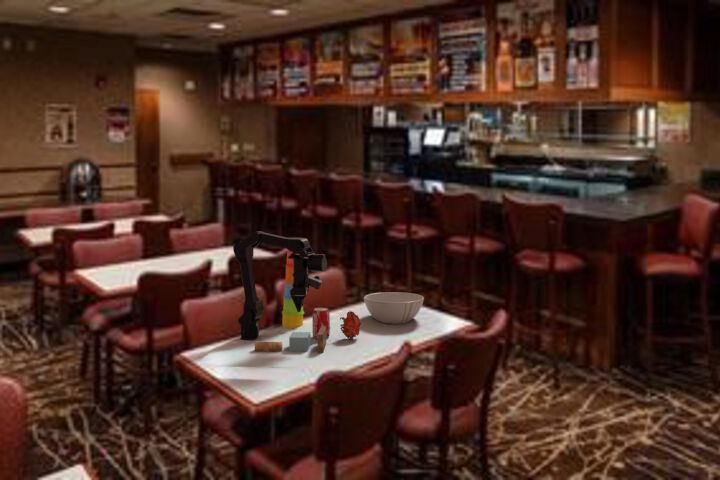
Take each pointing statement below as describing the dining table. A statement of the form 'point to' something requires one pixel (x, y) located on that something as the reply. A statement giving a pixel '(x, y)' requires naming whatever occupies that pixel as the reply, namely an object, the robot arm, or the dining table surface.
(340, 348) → the dining table surface
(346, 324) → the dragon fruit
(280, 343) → the dowel
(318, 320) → the soda can
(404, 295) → the decorative bowl
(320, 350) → the wall
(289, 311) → the stacking cups
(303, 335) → the block
